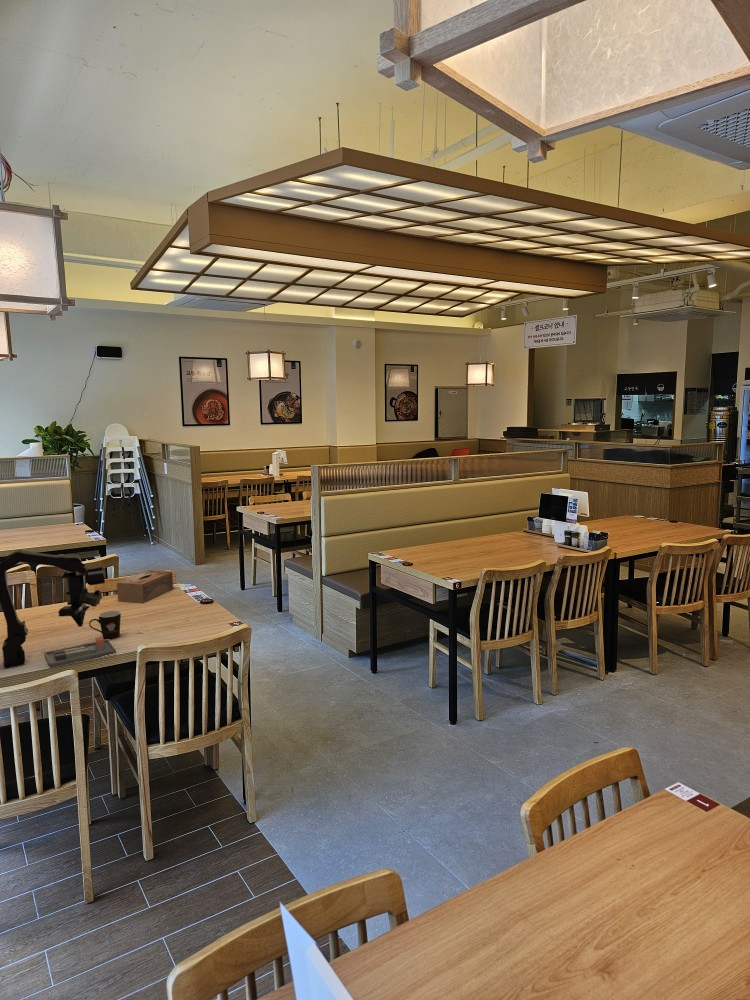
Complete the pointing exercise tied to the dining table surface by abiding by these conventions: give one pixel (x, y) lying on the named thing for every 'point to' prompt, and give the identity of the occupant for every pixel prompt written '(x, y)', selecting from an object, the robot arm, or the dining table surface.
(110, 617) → the coffee mug
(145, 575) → the tissue box cover
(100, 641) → the tab
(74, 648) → the bar
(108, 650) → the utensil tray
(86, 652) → the tongs fixed body
